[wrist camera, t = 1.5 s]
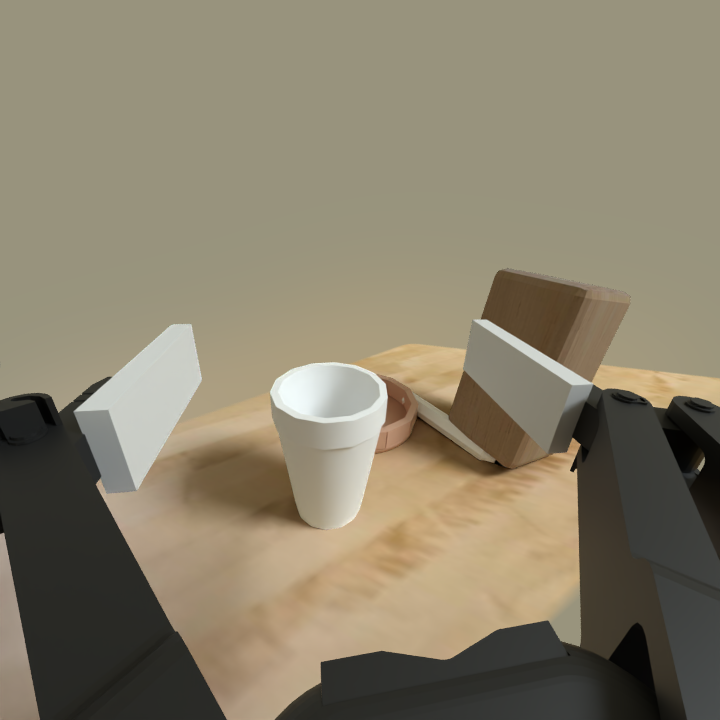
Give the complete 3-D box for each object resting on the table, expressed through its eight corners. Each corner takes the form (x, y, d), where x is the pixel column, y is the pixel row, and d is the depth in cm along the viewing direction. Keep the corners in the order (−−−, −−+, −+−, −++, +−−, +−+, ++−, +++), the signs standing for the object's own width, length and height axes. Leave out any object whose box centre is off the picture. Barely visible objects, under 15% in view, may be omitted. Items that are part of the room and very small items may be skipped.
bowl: (305, 458, 37) (305, 436, 36) (307, 391, 50) (307, 373, 49) (428, 451, 39) (432, 430, 38) (399, 389, 52) (401, 371, 51)
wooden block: (443, 422, 42) (494, 265, 34) (492, 412, 47) (545, 274, 40) (508, 474, 34) (592, 286, 27) (558, 456, 39) (639, 294, 32)
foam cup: (364, 462, 37) (371, 360, 31) (388, 535, 29) (404, 415, 23) (279, 472, 35) (271, 365, 29) (279, 554, 27) (268, 428, 21)
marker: (501, 479, 37) (403, 408, 47) (512, 467, 37) (413, 399, 48) (503, 467, 35) (400, 396, 46) (514, 455, 36) (411, 387, 46)
